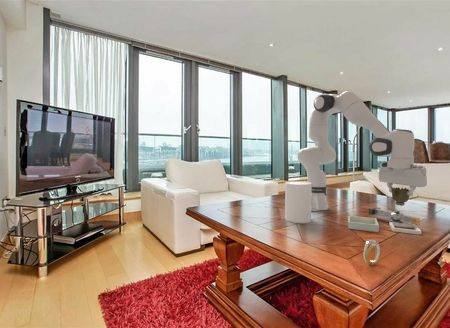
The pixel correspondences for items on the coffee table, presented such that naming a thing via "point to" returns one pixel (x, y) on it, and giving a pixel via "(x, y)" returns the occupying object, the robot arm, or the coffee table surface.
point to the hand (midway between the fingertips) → (400, 194)
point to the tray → (363, 223)
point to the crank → (395, 216)
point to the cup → (400, 195)
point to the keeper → (416, 231)
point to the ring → (366, 252)
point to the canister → (298, 201)
